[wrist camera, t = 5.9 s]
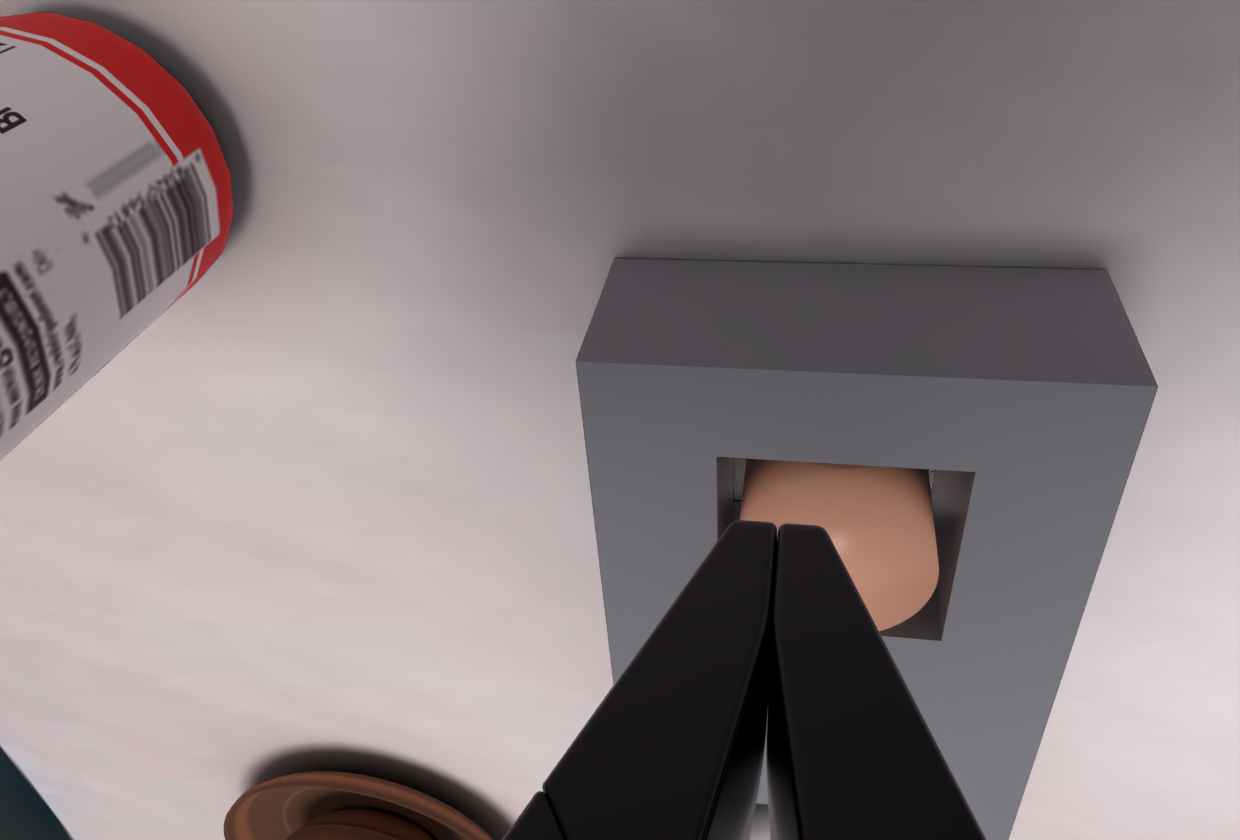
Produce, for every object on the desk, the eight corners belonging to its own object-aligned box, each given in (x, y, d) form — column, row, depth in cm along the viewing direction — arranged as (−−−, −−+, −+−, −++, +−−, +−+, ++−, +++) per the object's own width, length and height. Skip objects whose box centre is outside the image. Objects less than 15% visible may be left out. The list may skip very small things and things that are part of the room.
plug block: (1107, 269, 19) (1158, 386, 16) (956, 831, 32) (969, 957, 29) (614, 257, 21) (575, 361, 18) (658, 794, 34) (639, 908, 31)
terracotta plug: (937, 392, 21) (952, 503, 18) (915, 528, 23) (925, 644, 20) (748, 384, 21) (734, 489, 19) (746, 516, 24) (734, 627, 21)
